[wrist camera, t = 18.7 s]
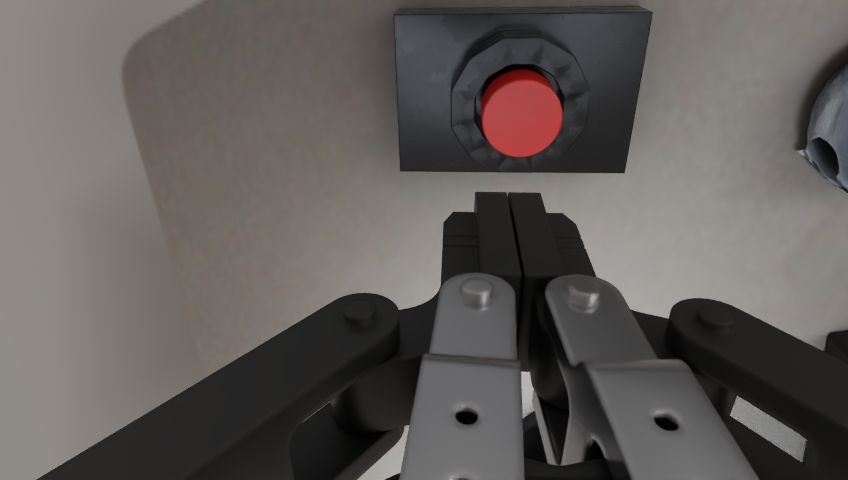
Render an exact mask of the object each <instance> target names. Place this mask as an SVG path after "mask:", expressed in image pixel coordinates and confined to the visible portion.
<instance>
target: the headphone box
mask: <svg viewBox="0 0 848 480" xmlns="http://www.w3.org/2000/svg"><path fill="white" fill-rule="evenodd" d="M825 353H827V354H829V355H831V356H833V357H835V358H837V359H839V360H841V361H843V362H845V363H847V364H848V332H841V333H834V334H832V335H830V336H829V337H828V342H827V347H826V352H825ZM804 464H805V465H806V466H808V467H810V468H812V469H815V470H816V468H817V465H818V456H817V454H816V451H815V449H814V448H813V446H812V445H811V444H810V442H809V441H808V443H807V448H806V453H805V459H804Z"/></svg>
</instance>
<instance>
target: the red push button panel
mask: <svg viewBox="0 0 848 480" xmlns="http://www.w3.org/2000/svg"><path fill="white" fill-rule="evenodd" d="M652 14H653V12H651V11H649V10H647V9H644V8H642V7H640V6H587V7H490V8H399V9H398V10H397V11H396V13H395V14H394V34H395V58H396V82H397V106H398V130H399V154H400V171H426V172H528V173H531V172H553V173H625V168H626V162H627V156H628V151H629V145H630V139H631V134H632V128H633V122H634V116H635V111H636V105H637V99H638V94H639V88H640V82H641V77H642V71H643V65H644V60H645V54H646V48H647V43H648V37H649V31H650V26H651V20H652ZM515 69H527V70H532V71H535V72H537V73H539V74H541V75H542V76H544V77H545V78H546V79H547V80H548V81H549V83H550V84H551V85H552V87H553V89H554V91H555V93H556V95H557V96H558V98H559V100H560V103H561V106H562V111H563V120H562V125H561V128H560V131H559V133H558V135H557V137H556V138H555V139H554V141H553V142H552V143H551V144H550V145H549V146H548V147H547V148H545V149H544V150H542V151H541V152H539V153H537V154H534V155H531V156H526V157H513V156H508V155H505V154H503V153H501V152H499V151H498V150H496V149H495V148H494V147H493V146H492V145H491V144H490V143H489V142H488V140H487V139H486V136H485V134H484V131H483V127H482V119H481V101H482V97H483V95H484V92H485V90H486V89H487V87H488V86H489V84H490V83H491V82H492V81H493V80H494V79H495V78H497V77H498V76H499V75H501V74H503V73H505V72H508V71H510V70H515Z"/></svg>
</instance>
